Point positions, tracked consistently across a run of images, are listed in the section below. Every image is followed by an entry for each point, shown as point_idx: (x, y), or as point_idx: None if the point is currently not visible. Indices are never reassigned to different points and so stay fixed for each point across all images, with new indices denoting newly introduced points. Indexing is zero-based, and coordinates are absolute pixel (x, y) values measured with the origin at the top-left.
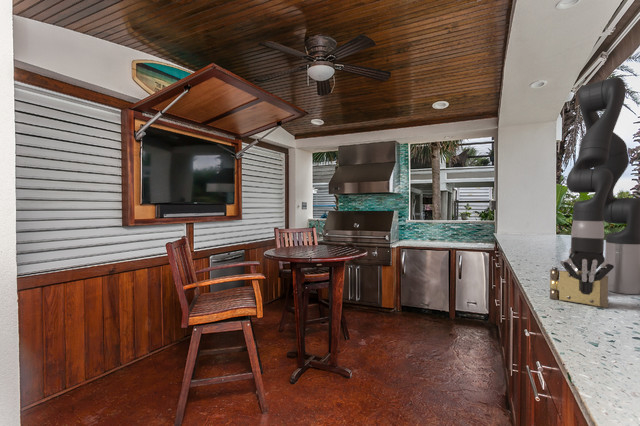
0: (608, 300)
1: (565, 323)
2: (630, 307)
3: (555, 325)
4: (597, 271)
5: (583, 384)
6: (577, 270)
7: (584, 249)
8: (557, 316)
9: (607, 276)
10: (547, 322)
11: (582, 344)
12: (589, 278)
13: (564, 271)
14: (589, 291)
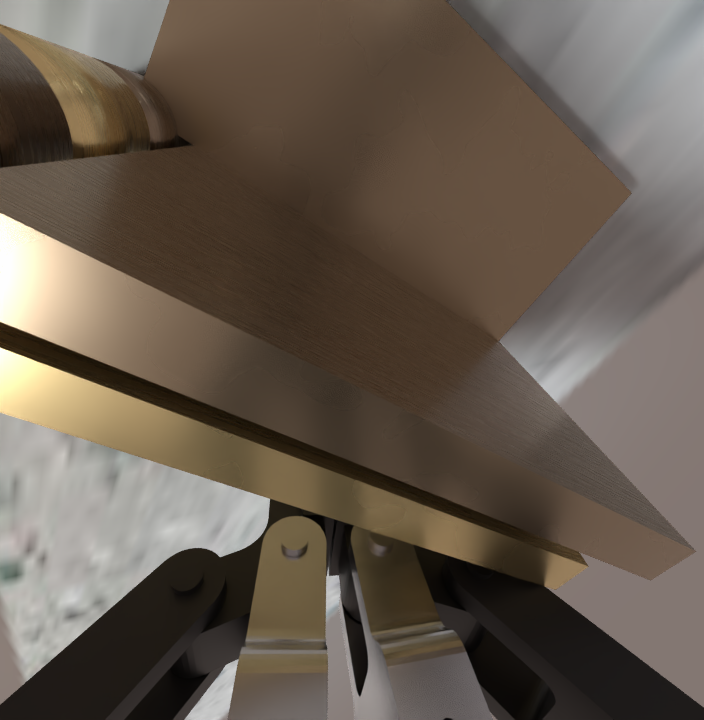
0: (612, 207)
1: (102, 611)
2: (660, 283)
3: (55, 636)
4: (558, 681)
5: None
6: (234, 692)
7: None
8: (82, 552)
9: (644, 577)
10: (23, 621)
11: None
12: (349, 633)
13: (48, 366)
14: None
